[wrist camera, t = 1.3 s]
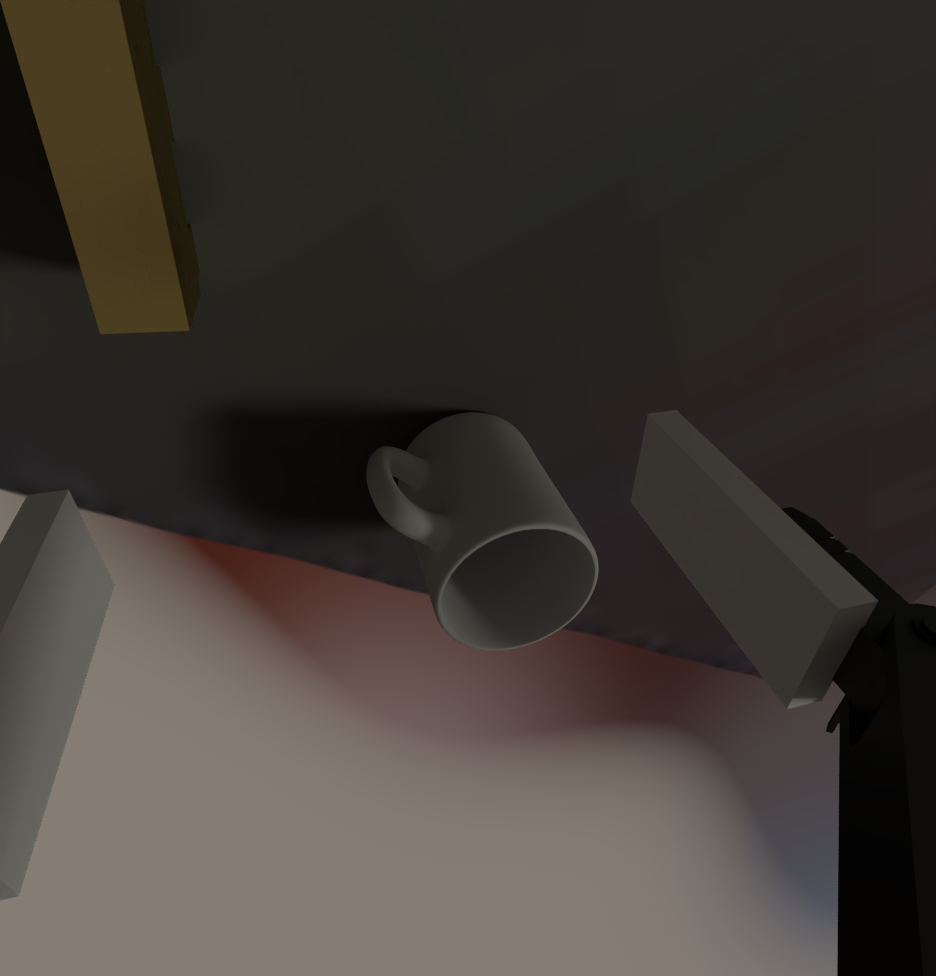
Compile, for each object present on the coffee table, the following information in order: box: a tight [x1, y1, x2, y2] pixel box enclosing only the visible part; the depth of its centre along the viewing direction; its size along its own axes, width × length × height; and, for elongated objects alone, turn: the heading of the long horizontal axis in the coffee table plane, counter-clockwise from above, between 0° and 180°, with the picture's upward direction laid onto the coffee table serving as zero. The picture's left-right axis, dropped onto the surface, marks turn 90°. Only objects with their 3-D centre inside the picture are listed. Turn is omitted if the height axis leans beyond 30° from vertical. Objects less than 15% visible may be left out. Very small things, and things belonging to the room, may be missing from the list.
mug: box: [366, 412, 598, 651], centre depth 33 cm, size 12×8×11 cm
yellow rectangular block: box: [0, 0, 201, 334], centre depth 21 cm, size 14×3×7 cm, turn 177°
